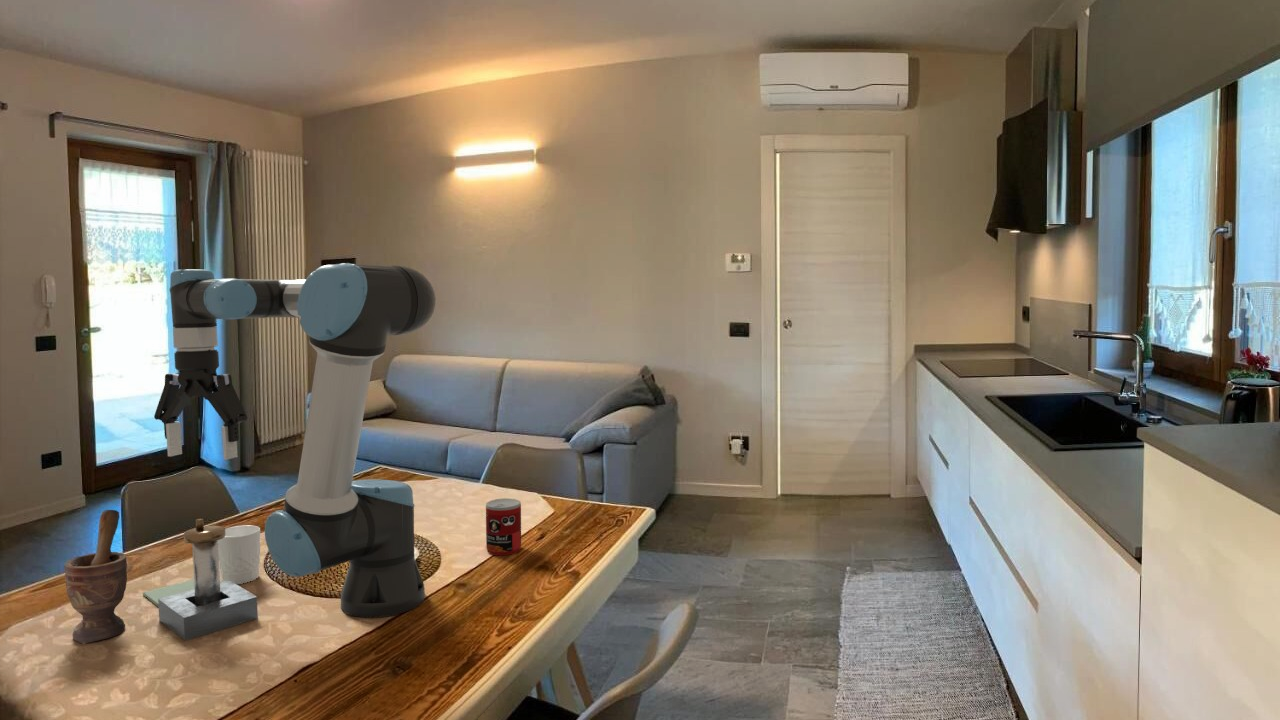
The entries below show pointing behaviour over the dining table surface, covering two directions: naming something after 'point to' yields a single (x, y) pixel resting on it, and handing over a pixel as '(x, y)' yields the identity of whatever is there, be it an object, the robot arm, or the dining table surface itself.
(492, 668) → the dining table surface
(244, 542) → the white cup
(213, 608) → the block
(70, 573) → the mortar and pestle
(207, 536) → the steel peg
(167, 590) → the mat
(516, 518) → the canned food
